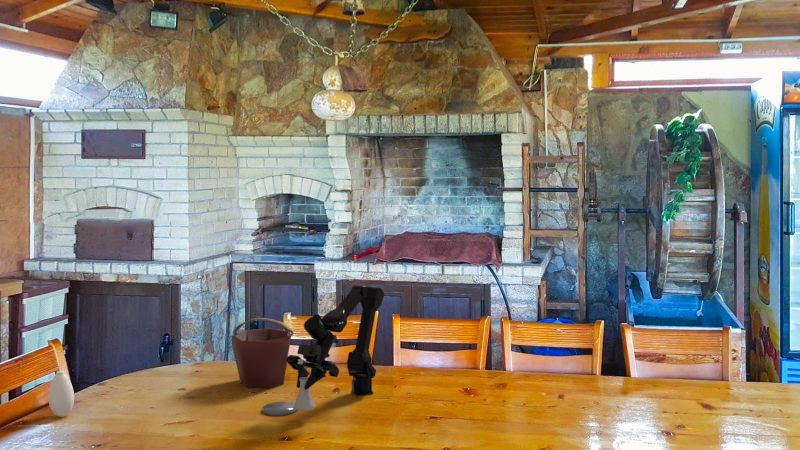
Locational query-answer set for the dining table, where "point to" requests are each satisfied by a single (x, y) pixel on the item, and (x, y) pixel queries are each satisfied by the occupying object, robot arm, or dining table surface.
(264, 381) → the bucket
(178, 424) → the dining table surface
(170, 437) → the dining table surface
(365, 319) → the robot arm
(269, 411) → the slate coaster
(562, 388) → the dining table surface
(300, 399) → the flask
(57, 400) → the grey teardrop piece
